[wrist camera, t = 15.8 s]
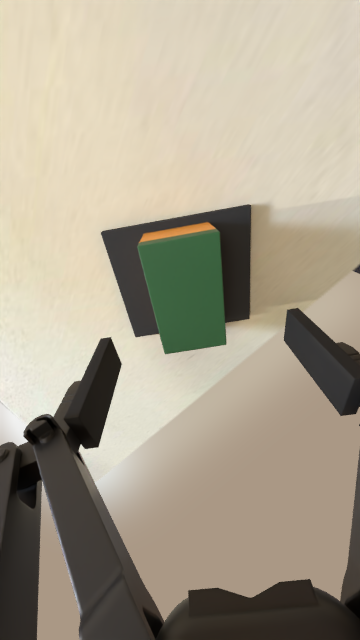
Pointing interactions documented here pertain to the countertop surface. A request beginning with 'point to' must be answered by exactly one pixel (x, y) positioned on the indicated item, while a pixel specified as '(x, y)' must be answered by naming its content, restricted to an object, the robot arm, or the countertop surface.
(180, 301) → the sponge
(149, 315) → the sink mat
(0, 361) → the countertop surface
